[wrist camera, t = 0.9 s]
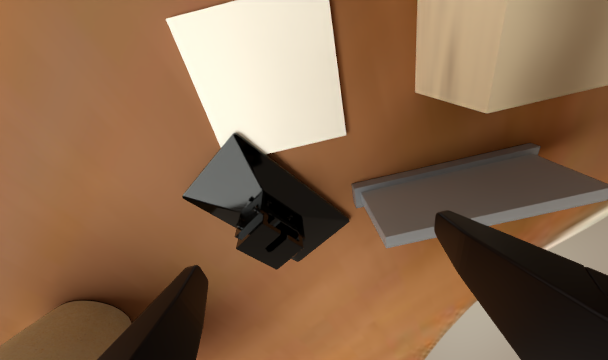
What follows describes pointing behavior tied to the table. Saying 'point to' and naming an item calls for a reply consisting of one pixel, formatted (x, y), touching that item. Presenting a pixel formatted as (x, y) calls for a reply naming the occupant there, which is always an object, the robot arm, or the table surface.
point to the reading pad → (264, 70)
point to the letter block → (509, 50)
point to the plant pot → (68, 333)
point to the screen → (473, 192)
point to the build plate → (263, 204)
